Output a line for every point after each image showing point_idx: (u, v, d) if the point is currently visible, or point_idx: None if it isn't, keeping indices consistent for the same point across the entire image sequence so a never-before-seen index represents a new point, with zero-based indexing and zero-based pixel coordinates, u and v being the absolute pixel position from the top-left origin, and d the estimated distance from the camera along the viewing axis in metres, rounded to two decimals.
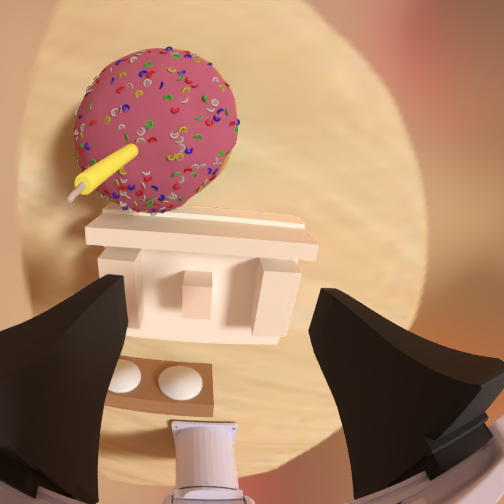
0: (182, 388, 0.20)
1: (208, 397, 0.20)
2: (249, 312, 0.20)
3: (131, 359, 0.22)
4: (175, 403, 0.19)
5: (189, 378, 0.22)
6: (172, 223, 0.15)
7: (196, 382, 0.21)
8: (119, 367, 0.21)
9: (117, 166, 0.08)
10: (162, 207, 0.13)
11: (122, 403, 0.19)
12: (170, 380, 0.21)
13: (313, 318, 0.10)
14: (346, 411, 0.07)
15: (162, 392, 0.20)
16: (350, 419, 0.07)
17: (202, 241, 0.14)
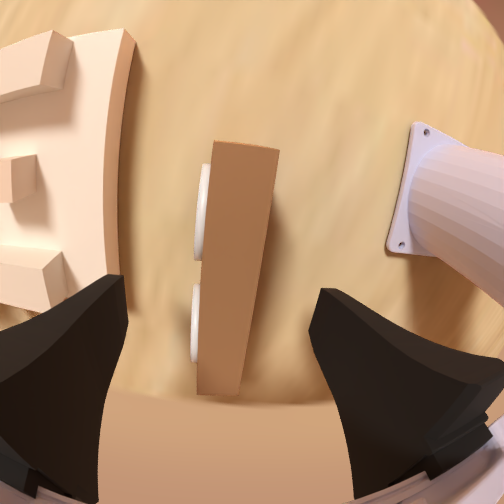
0: None
1: None
2: (51, 91, 0.08)
3: None
4: (209, 238, 0.09)
5: None
6: None
7: None
8: None
9: None
10: None
11: (224, 349, 0.11)
12: None
13: (313, 318, 0.10)
14: (346, 411, 0.07)
15: (199, 259, 0.10)
16: (350, 419, 0.07)
17: None
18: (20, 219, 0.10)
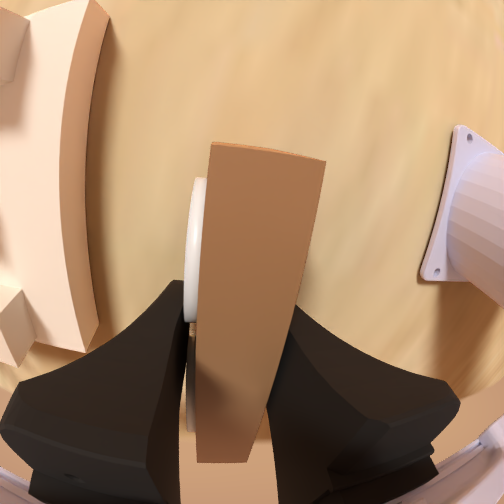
0: None
1: None
2: (0, 86, 0.05)
3: None
4: (206, 306, 0.05)
5: None
6: None
7: None
8: None
9: None
10: None
11: (231, 427, 0.07)
12: None
13: None
14: (273, 420, 0.07)
15: None
16: (275, 430, 0.06)
17: None
18: None
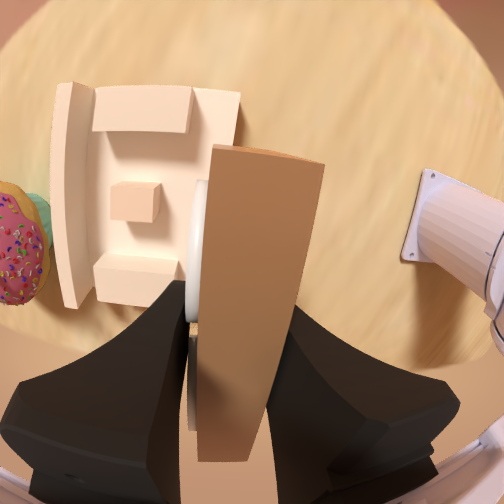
0: None
1: None
2: (177, 133, 0.14)
3: None
4: (207, 306, 0.06)
5: None
6: None
7: None
8: None
9: None
10: (31, 240, 0.12)
11: (231, 426, 0.07)
12: None
13: None
14: (273, 420, 0.07)
15: None
16: (275, 430, 0.06)
17: (55, 202, 0.12)
18: (137, 233, 0.16)
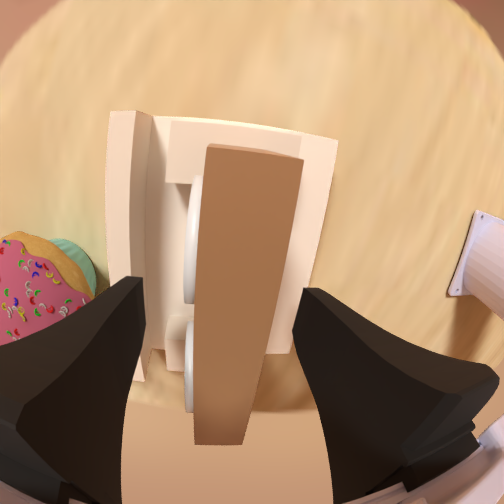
0: None
1: None
2: None
3: None
4: (202, 285, 0.06)
5: None
6: None
7: None
8: None
9: None
10: None
11: (226, 406, 0.08)
12: None
13: (296, 318, 0.10)
14: (326, 414, 0.07)
15: None
16: (330, 423, 0.07)
17: (116, 273, 0.10)
18: None
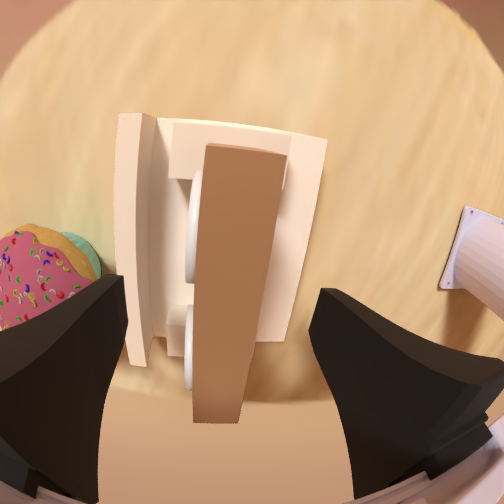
0: None
1: None
2: None
3: None
4: (201, 262, 0.07)
5: None
6: None
7: None
8: None
9: None
10: None
11: (222, 380, 0.09)
12: None
13: (313, 318, 0.10)
14: (346, 411, 0.07)
15: (192, 283, 0.09)
16: (350, 419, 0.07)
17: (122, 261, 0.11)
18: None
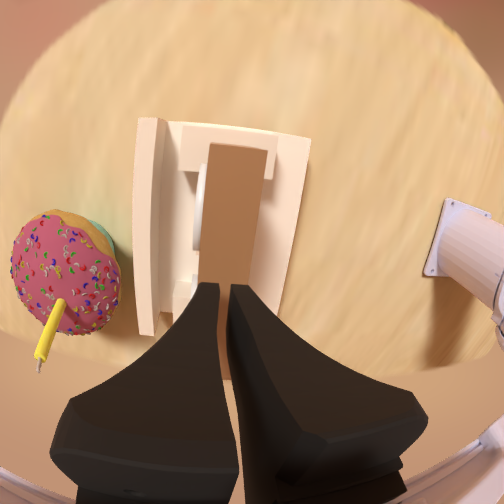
0: None
1: None
2: None
3: None
4: (205, 229, 0.10)
5: None
6: None
7: None
8: None
9: (48, 325, 0.10)
10: (108, 274, 0.14)
11: (220, 333, 0.12)
12: None
13: (227, 316, 0.10)
14: (241, 422, 0.07)
15: (197, 248, 0.11)
16: (242, 432, 0.06)
17: (138, 239, 0.14)
18: None
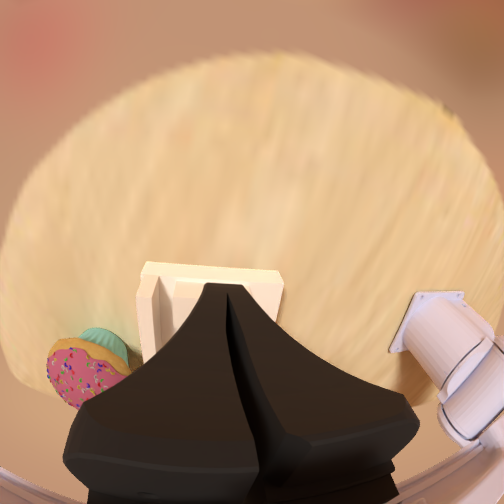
0: None
1: None
2: None
3: None
4: None
5: None
6: None
7: None
8: None
9: None
10: None
11: None
12: None
13: None
14: None
15: None
16: None
17: None
18: None
